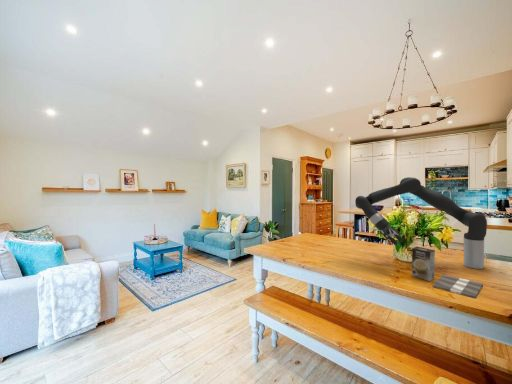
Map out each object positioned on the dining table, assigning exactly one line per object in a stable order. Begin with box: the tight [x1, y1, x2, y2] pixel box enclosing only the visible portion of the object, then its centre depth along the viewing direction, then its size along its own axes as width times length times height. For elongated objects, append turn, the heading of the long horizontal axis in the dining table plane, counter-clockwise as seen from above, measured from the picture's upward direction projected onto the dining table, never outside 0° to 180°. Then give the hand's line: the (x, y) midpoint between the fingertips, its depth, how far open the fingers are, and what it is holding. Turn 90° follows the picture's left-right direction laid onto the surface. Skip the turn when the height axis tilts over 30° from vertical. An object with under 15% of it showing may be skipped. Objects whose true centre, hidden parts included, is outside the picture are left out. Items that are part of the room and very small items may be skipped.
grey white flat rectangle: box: [432, 274, 484, 299], centre depth 119 cm, size 20×16×1 cm
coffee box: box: [411, 246, 436, 282], centre depth 130 cm, size 9×6×16 cm
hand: (399, 242), depth 139 cm, fingers open, 8 cm apart
